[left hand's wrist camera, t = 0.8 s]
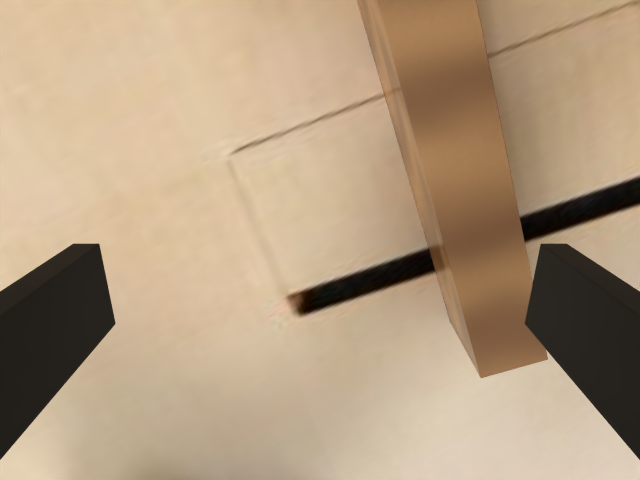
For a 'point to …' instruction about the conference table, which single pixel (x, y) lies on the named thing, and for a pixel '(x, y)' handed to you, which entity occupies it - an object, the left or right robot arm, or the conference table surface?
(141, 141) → the conference table surface
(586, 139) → the conference table surface
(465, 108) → the beam
